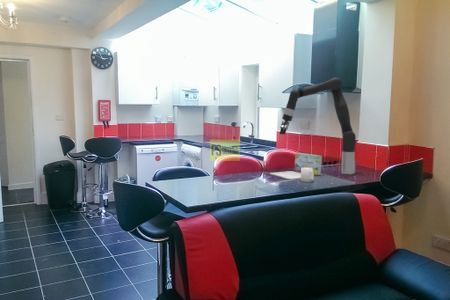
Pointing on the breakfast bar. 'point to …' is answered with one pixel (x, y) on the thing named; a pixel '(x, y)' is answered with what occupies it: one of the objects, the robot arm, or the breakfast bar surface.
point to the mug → (307, 174)
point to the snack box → (308, 162)
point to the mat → (288, 175)
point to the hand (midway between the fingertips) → (282, 134)
